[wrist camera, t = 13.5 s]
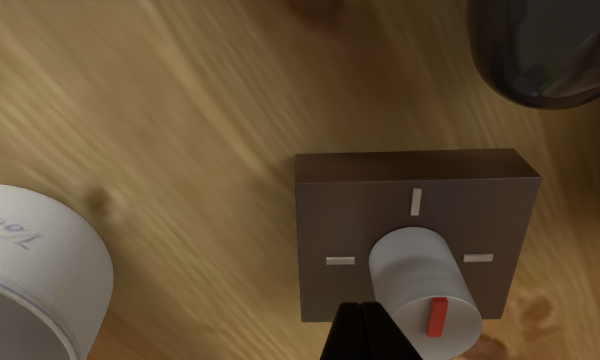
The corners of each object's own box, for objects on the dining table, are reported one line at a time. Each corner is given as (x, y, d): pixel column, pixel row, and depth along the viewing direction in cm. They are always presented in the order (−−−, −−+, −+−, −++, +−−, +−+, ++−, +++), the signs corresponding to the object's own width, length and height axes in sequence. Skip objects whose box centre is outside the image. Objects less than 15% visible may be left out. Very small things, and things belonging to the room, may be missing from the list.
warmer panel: (301, 284, 26) (301, 325, 23) (296, 153, 22) (294, 185, 19) (481, 281, 26) (502, 321, 23) (513, 147, 21) (544, 178, 19)
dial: (443, 288, 22) (475, 369, 18) (366, 288, 22) (380, 370, 18) (455, 225, 20) (495, 301, 16) (371, 226, 20) (388, 302, 16)
